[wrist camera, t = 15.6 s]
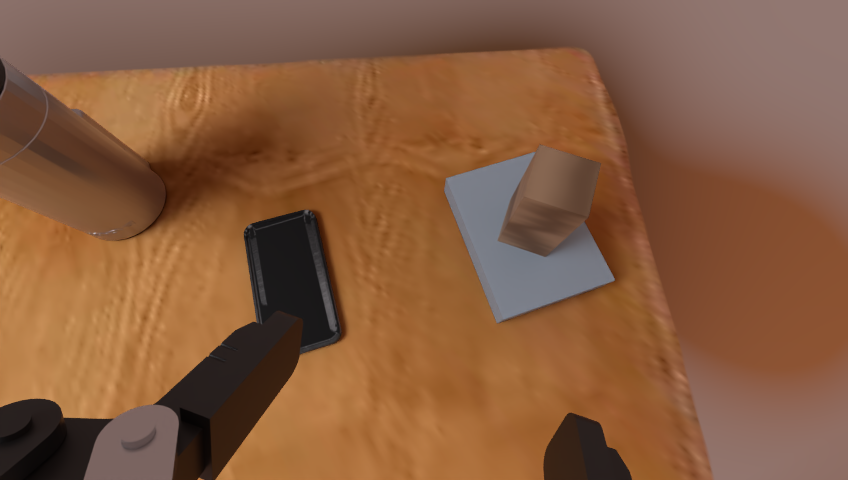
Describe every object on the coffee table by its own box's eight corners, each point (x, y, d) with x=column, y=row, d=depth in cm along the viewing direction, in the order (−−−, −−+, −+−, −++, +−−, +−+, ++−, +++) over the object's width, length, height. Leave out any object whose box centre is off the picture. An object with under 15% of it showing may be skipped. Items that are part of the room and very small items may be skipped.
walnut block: (497, 240, 37) (524, 196, 28) (510, 199, 39) (539, 144, 29) (545, 257, 37) (588, 217, 27) (556, 214, 38) (601, 163, 29)
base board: (444, 191, 42) (446, 178, 40) (537, 163, 44) (546, 148, 41) (497, 323, 37) (503, 319, 34) (600, 286, 39) (615, 280, 36)
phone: (312, 207, 41) (342, 339, 36) (315, 211, 42) (344, 340, 37) (241, 226, 40) (261, 364, 35) (246, 229, 41) (266, 364, 36)
